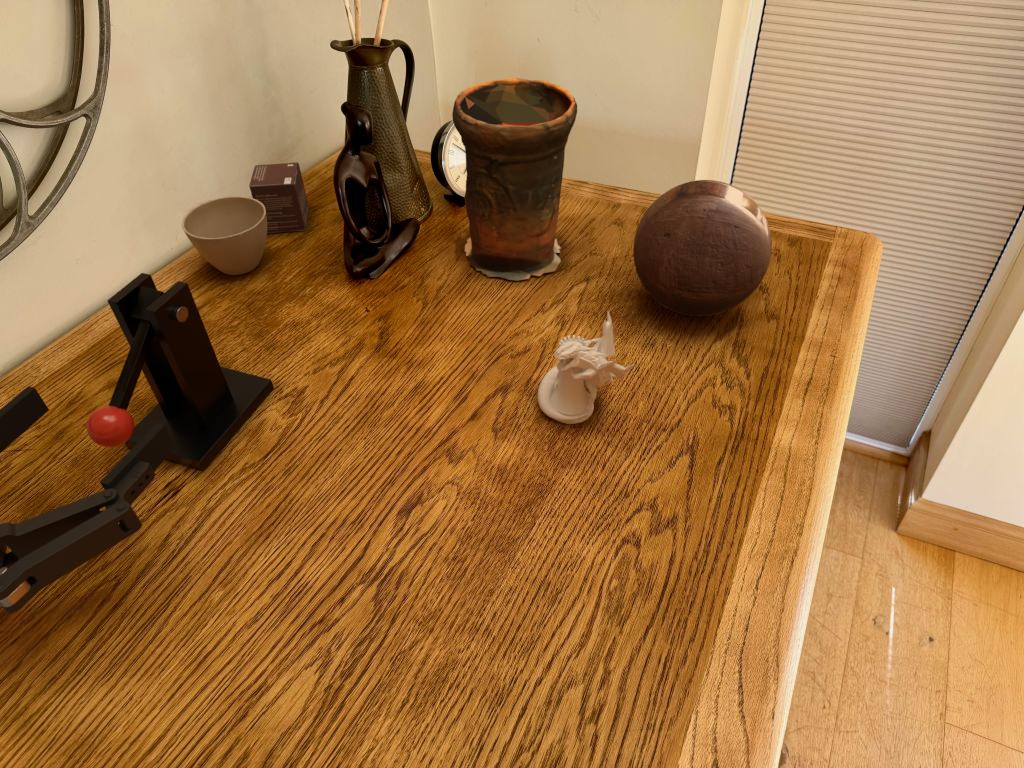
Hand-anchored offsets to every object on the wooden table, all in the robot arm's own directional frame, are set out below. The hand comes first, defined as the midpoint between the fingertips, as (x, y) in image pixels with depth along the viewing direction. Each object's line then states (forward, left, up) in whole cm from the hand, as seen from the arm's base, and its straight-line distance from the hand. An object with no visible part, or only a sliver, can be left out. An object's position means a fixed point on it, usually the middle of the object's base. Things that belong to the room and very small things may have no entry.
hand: (101, 415), depth 61 cm
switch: (-1, +5, 0) cm, 6 cm away
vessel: (+11, +51, -9) cm, 53 cm away
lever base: (-2, +9, -9) cm, 13 cm away
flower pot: (-19, +31, -9) cm, 37 cm away
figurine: (+32, +28, -9) cm, 44 cm away
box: (-21, +42, -9) cm, 48 cm away
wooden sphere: (+35, +51, -9) cm, 63 cm away
